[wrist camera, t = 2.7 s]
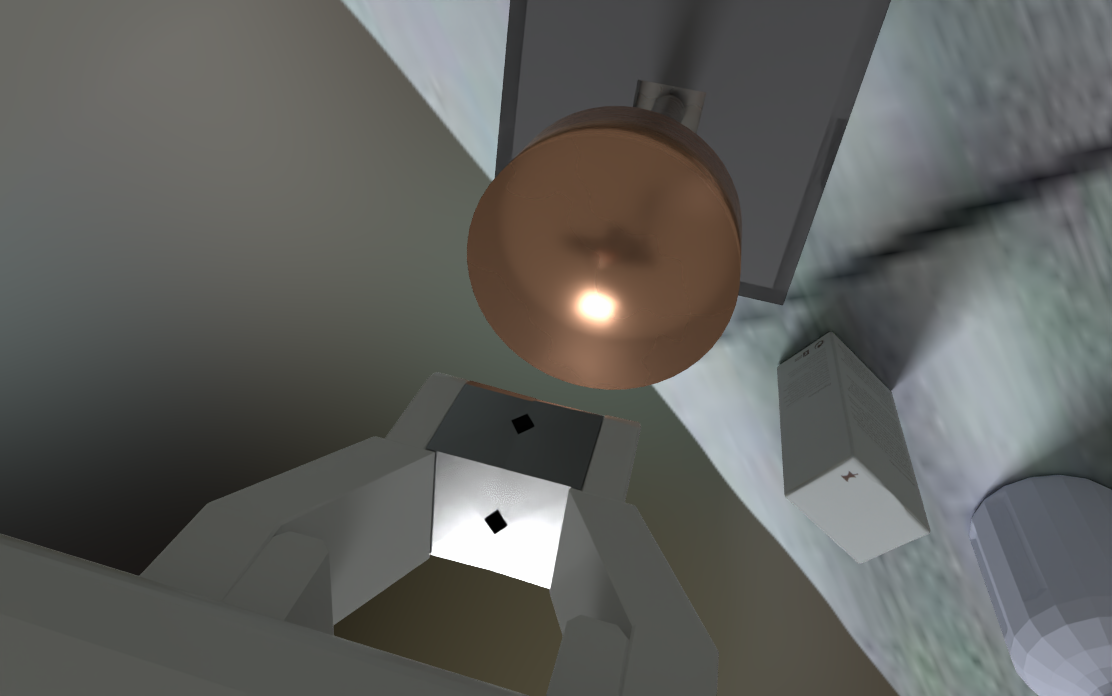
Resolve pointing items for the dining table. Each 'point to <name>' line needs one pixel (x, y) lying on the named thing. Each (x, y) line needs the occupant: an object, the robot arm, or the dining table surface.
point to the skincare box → (846, 452)
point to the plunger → (611, 244)
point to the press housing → (708, 94)
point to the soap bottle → (1051, 580)
